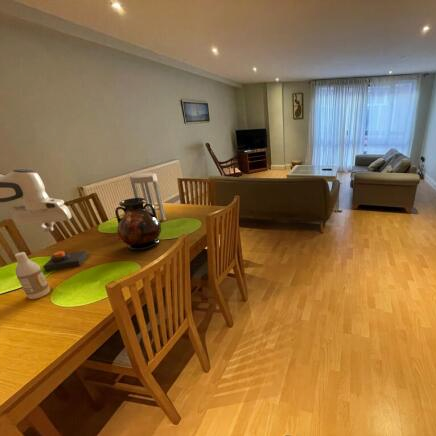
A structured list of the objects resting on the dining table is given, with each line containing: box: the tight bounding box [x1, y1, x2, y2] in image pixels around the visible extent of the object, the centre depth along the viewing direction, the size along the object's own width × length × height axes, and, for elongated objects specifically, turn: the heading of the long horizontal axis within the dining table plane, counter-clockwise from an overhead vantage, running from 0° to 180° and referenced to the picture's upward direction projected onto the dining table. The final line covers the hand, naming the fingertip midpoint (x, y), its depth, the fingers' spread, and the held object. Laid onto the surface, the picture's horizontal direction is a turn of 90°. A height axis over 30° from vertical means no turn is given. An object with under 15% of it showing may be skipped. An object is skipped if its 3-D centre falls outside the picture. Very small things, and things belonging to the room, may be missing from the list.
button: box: [53, 250, 65, 258], centre depth 122 cm, size 4×4×2 cm
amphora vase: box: [114, 197, 162, 252], centre depth 138 cm, size 22×22×28 cm
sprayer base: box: [43, 250, 89, 272], centre depth 124 cm, size 14×11×5 cm
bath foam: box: [14, 251, 51, 300], centre depth 99 cm, size 7×7×20 cm
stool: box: [129, 172, 167, 221], centre depth 169 cm, size 16×16×35 cm
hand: (49, 230), depth 117 cm, fingers closed
